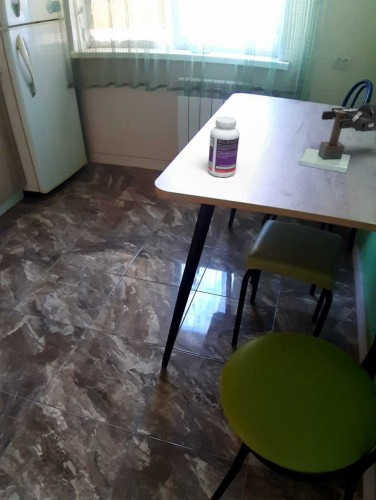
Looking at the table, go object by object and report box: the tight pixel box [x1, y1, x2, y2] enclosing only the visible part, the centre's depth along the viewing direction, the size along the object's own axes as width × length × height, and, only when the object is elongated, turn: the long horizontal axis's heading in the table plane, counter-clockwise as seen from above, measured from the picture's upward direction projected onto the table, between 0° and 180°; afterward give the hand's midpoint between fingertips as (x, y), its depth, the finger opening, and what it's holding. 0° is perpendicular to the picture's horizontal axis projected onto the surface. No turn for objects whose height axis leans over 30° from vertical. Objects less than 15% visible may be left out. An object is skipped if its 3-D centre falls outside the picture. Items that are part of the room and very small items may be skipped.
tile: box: [299, 147, 351, 174], centre depth 129 cm, size 14×12×2 cm
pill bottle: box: [207, 116, 240, 178], centre depth 115 cm, size 8×8×14 cm
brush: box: [318, 111, 346, 160], centre depth 124 cm, size 6×4×13 cm, turn 100°
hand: (330, 120), depth 121 cm, fingers open, 8 cm apart
